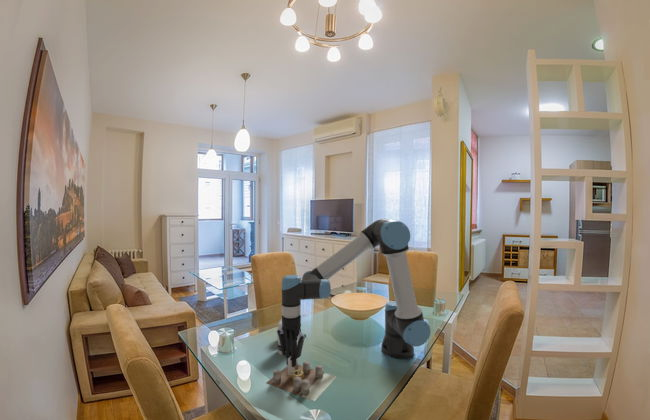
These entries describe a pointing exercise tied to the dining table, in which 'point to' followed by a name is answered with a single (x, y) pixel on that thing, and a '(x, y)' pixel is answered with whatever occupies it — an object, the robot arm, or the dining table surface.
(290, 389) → the board
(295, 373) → the brass nut
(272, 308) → the dining table surface
